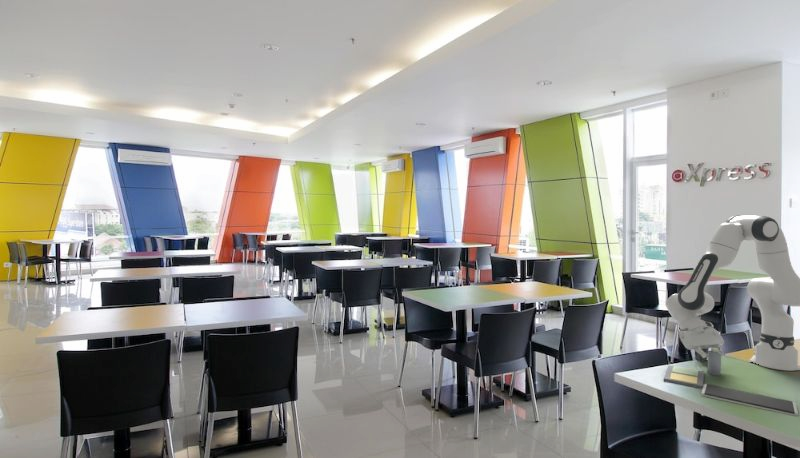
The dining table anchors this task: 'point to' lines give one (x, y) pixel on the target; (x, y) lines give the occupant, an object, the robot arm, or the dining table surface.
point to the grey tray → (750, 399)
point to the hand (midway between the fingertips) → (713, 356)
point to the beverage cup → (697, 355)
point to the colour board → (684, 376)
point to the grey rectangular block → (714, 362)
